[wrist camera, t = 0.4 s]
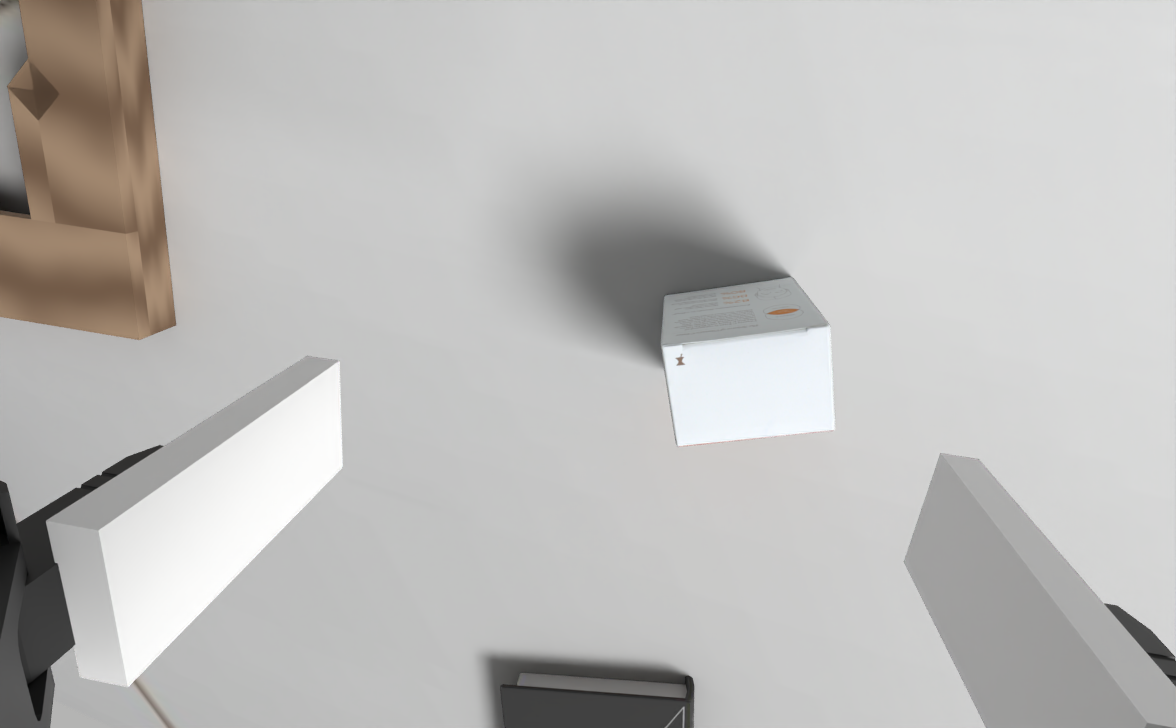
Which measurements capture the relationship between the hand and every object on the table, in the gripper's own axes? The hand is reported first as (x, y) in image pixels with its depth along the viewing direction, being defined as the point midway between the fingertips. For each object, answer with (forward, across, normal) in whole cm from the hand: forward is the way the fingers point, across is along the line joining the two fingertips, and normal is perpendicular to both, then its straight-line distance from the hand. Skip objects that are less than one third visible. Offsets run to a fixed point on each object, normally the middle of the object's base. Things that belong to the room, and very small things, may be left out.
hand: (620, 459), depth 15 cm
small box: (+28, +5, -5) cm, 29 cm away
